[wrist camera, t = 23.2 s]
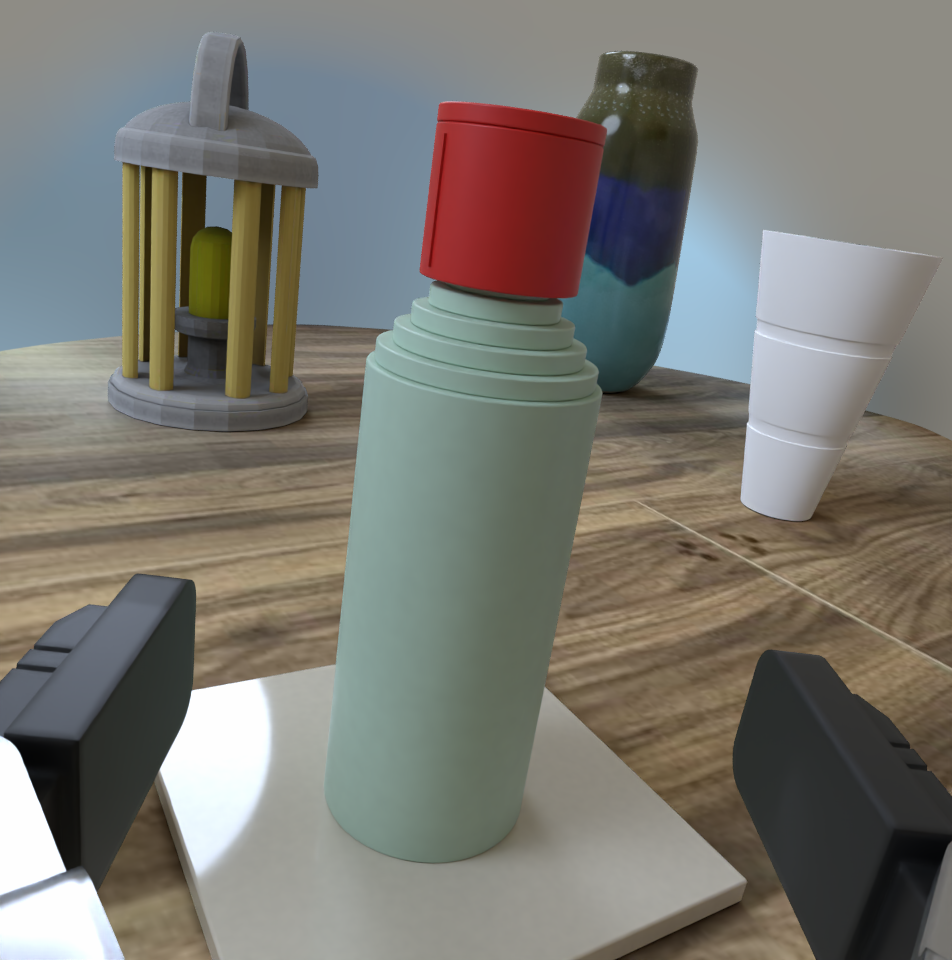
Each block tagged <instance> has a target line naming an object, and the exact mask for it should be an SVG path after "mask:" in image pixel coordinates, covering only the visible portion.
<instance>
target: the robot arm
mask: <svg viewBox="0 0 952 960" xmlns="http://www.w3.org/2000/svg"><path fill="white" fill-rule="evenodd" d="M195 613H196V589H195V584H194V582H193V581H192V580H188V579H180V578H171V577H163V576H154V575H146V574H135V575H134V576H133V577H132V578H131V579H130V580H129V582H128V583H127V584H126V585H125V586H124V588H123V589H122V590H121V591H120V592H119V594H118V595H117V596H116V597H115V598H114V600H113V601H112V602H111V603H110V605H109V606H108V607H107V606H99V605H90V604H89V605H87V606H85V607H83V608H81V609H79V610H77V611H75V612H73V613H71V614H69V615H68V616H66V617H64V618H62V619H60V620H58V621H56V622H55V623H54V624H53V625H52V626H51V627H50V628H49V629H48V630H47V631H46V632H45V634H44V635H43V636H42V637H41V638H40V639H39V640H38V641H37V642H36V643H35V644H34V649H30V650H29V651H28V652H27V653H26V654H25V655H24V656H23V658H22V659H21V660H20V661H19V662H18V663H17V667H16V669H13V668H12V670H11V671H10V672H9V673H8V674H7V675H6V676H5V677H4V678H3V679H2V680H1V682H0V960H125V959H124V957H123V954H122V952H121V950H120V947H119V945H118V942H117V940H116V938H115V935H114V933H113V931H112V928H111V926H110V923H109V921H108V919H107V916H106V914H105V912H104V909H103V907H102V904H101V902H100V900H99V897H98V895H97V892H98V890H99V888H100V886H101V884H102V882H103V880H104V878H105V876H106V874H107V872H108V870H109V868H110V866H111V864H112V862H113V860H114V858H115V856H116V854H117V852H118V850H119V848H120V846H121V845H122V843H123V841H124V839H125V837H126V835H127V833H128V831H129V829H130V827H131V825H132V823H133V821H134V819H135V817H136V815H137V813H138V811H139V809H140V807H141V805H142V803H143V801H144V799H145V797H146V795H147V794H148V792H149V790H150V788H151V786H152V784H153V782H154V780H155V778H156V776H157V774H158V772H159V770H160V768H161V766H162V764H163V762H164V760H165V758H166V756H167V754H168V752H169V750H170V748H171V746H172V744H173V743H174V741H175V739H176V737H177V735H178V733H179V731H180V729H181V727H182V725H183V722H184V720H185V717H186V714H187V710H188V707H189V703H190V698H191V692H192V685H193V670H194V642H195ZM733 773H734V778H735V782H736V785H737V788H738V790H739V792H740V794H741V797H742V799H743V801H744V803H745V805H746V808H747V810H748V812H749V814H750V816H751V818H752V821H753V823H754V825H755V827H756V829H757V832H758V834H759V836H760V838H761V840H762V842H763V845H764V847H765V849H766V851H767V853H768V856H769V858H770V860H771V862H772V864H773V866H774V869H775V871H776V873H777V875H778V877H779V880H780V882H781V884H782V886H783V888H784V890H785V893H786V895H787V897H788V899H789V901H790V904H791V906H792V908H793V910H794V912H795V914H796V917H797V919H798V921H799V923H800V925H801V928H802V930H803V932H804V934H805V936H806V938H807V941H808V943H809V945H810V947H811V949H812V952H813V954H814V956H815V958H816V960H952V796H951V795H950V794H949V793H948V791H947V790H946V789H945V788H944V786H943V785H942V784H941V783H940V781H939V780H938V779H937V778H936V776H935V775H934V774H933V773H932V771H927V765H926V764H925V763H924V761H923V760H922V759H921V758H920V756H919V755H918V754H917V753H916V751H915V750H914V749H910V744H909V743H908V741H907V740H906V739H905V738H904V736H903V735H902V734H901V733H900V731H899V730H898V729H897V728H896V726H895V725H894V724H893V723H892V721H891V720H890V719H889V718H888V717H887V716H885V715H884V714H883V713H881V712H880V711H879V710H877V709H876V708H875V707H873V706H872V705H871V704H869V703H868V702H867V701H865V700H864V699H863V698H861V697H860V696H859V695H857V694H852V693H851V692H850V690H849V689H848V688H847V687H846V685H845V684H844V683H843V681H842V680H841V679H840V677H839V676H838V675H837V673H836V672H835V671H834V670H833V668H832V667H831V666H830V664H829V663H828V662H827V661H826V659H825V658H823V657H822V656H819V655H812V654H803V653H795V652H786V651H778V650H767V651H765V652H764V653H763V654H762V655H761V657H760V658H759V660H758V663H757V666H756V669H755V672H754V676H753V679H752V683H751V686H750V689H749V693H748V696H747V700H746V703H745V706H744V710H743V713H742V717H741V720H740V724H739V727H738V730H737V734H736V737H735V741H734V747H733Z"/></svg>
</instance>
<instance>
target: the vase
mask: <svg viewBox="0 0 952 960" xmlns="http://www.w3.org/2000/svg"><path fill="white" fill-rule="evenodd" d="M697 72H698V69H697V67H696V66H695V65H694V64H692V63H690V62H687V61H685V60H681V59H678V58H674V57H669V56H664V55H658V54H652V53H644V52H632V51H614V52H607V53H604V54H602V55H601V56H600V57H599V63H598V68H597V73H596V78H595V83H594V88H593V91H592V93H591V95H590V96H589V98H588V100H587V101H586V103H585V104H584V106H583V108H582V109H581V111H580V112H579V114H578V116H577V117H576V118H577V119H581V120H585V121H589V122H593V123H596V124H599V125H602V126H604V127H605V128H607V134H606V140H605V145H604V147H603V149H604V151H603V157H602V162H601V168H600V173H599V179H598V184H597V190H596V196H595V201H594V207H593V212H592V218H591V223H590V229H589V234H588V240H587V245H586V251H585V257H584V262H583V268H582V273H581V279H580V284H579V290H578V294H577V296H576V297H572V298H557V299H559V300H561V301H562V302H563V309H562V314H561V317H563V318H565V319H567V320H569V321H571V322H572V323H573V324H574V325H575V331H574V337H573V338H574V339H576V340H578V341H580V342H581V343H583V344H584V345H585V346H586V348H587V353H586V358H585V359H586V360H588V361H590V362H591V363H593V364H594V365H595V366H596V367H597V368H598V371H599V374H598V379H597V384H598V385H599V387H600V388H601V390H602V392H605V393H615V392H623V391H626V390H628V389H631V388H632V387H634V386H635V385H636V384H638V383H639V382H640V381H641V380H642V379H643V378H644V377H645V375H646V374H647V373H648V372H649V371H650V369H651V368H652V367H653V365H654V364H655V362H656V360H657V358H658V356H659V353H660V351H661V348H662V345H663V341H664V338H665V334H666V330H667V325H668V321H669V316H670V310H671V305H672V299H673V294H674V288H675V282H676V276H677V270H678V264H679V258H680V251H681V246H682V240H683V233H684V228H685V221H686V215H687V210H688V203H689V198H690V192H691V185H692V179H693V173H694V167H695V161H696V154H697V146H698V135H697V130H696V125H695V120H694V114H693V109H692V99H693V94H694V88H695V83H696V78H697Z"/></svg>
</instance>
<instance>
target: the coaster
mask: <svg viewBox="0 0 952 960" xmlns="http://www.w3.org/2000/svg"><path fill="white" fill-rule="evenodd" d="M335 668H336V664H334V665H328V666H323V667H318V668H312V669H307V670H301V671H296V672H290V673H285V674H279V675H274V676H268V677H263V678H258V679H252V680H247V681H241V682H236V683H230V684H225V685H219V686H214V687H208V688H203V689H198V690H192V692H191V698H190V703H189V707H188V710H187V714H186V717H185V720H184V722H183V725H182V727H181V729H180V731H179V733H178V735H177V737H176V739H175V741H174V743H173V744H172V746H171V748H170V750H169V752H168V754H167V756H166V758H165V760H164V762H163V764H162V766H161V768H160V770H159V772H158V774H157V776H156V778H155V780H154V783H155V786H156V789H157V792H158V795H159V798H160V801H161V804H162V807H163V810H164V813H165V816H166V820H167V823H168V826H169V829H170V832H171V835H172V838H173V841H174V844H175V847H176V850H177V853H178V856H179V860H180V863H181V866H182V869H183V872H184V875H185V878H186V881H187V884H188V887H189V890H190V893H191V896H192V900H193V903H194V906H195V909H196V912H197V915H198V918H199V921H200V924H201V927H202V930H203V933H204V937H205V940H206V943H207V946H208V949H209V952H210V955H211V958H212V960H615V959H617V958H620V957H622V956H624V955H626V954H628V953H630V952H632V951H635V950H637V949H639V948H641V947H643V946H645V945H647V944H650V943H652V942H654V941H656V940H658V939H660V938H662V937H664V936H667V935H669V934H671V933H673V932H675V931H677V930H679V929H682V928H684V927H686V926H688V925H690V924H692V923H694V922H697V921H699V920H701V919H703V918H705V917H707V916H709V915H712V914H714V913H716V912H718V911H720V910H722V909H724V908H727V907H729V906H731V905H733V904H735V903H737V902H739V901H741V899H742V897H743V894H744V891H745V887H746V884H747V880H746V878H744V877H743V876H742V875H741V874H740V873H739V872H738V871H737V870H736V869H735V868H734V867H733V866H732V865H731V864H730V863H729V862H728V861H727V860H726V859H725V858H724V857H723V856H722V855H720V854H719V853H718V852H717V851H716V850H715V849H714V848H713V847H712V846H711V845H710V844H709V843H708V842H707V841H706V840H705V839H704V838H703V837H702V836H701V835H700V834H699V833H697V832H696V831H695V830H694V829H693V828H692V827H691V826H690V825H689V824H688V823H687V822H686V821H685V820H684V819H683V818H682V817H681V816H680V815H679V814H678V813H677V812H676V811H674V810H673V809H672V808H671V807H670V806H669V805H668V804H667V803H666V802H665V801H664V800H663V799H662V798H661V797H660V796H659V795H658V794H657V793H656V792H655V791H654V790H653V789H651V788H650V787H649V786H648V785H647V784H646V783H645V782H644V781H643V780H642V779H641V778H640V777H639V776H638V775H637V774H636V773H635V772H634V771H633V770H632V769H631V768H630V767H629V766H627V765H626V764H625V763H624V762H623V761H622V760H621V759H620V758H619V757H618V756H617V755H616V754H615V753H614V752H613V751H612V750H611V749H610V748H609V747H608V746H607V745H606V744H604V743H603V742H602V741H601V740H600V739H599V738H598V737H597V736H596V735H595V734H594V733H593V732H592V731H591V730H590V729H589V728H588V727H587V726H586V725H585V724H584V723H583V722H581V721H580V720H579V719H578V718H577V717H576V716H575V715H574V714H573V713H572V712H571V711H570V710H569V709H568V708H567V707H566V706H565V705H564V704H563V703H562V702H561V701H560V700H558V699H557V698H556V697H555V696H554V695H553V694H552V693H551V692H550V691H549V690H548V689H547V688H546V687H544V692H543V697H542V702H541V707H540V712H539V717H538V723H537V728H536V733H535V738H534V743H533V748H532V753H531V758H530V763H529V768H528V773H527V778H526V783H525V788H524V793H523V798H522V803H521V808H520V813H519V816H518V819H517V821H516V823H515V825H514V827H513V828H512V830H511V831H510V832H509V833H508V834H507V836H506V837H505V838H504V839H503V840H502V841H500V842H499V843H498V844H496V845H495V846H494V847H492V848H490V849H489V850H487V851H485V852H483V853H481V854H478V855H476V856H473V857H470V858H466V859H463V860H458V861H452V862H443V863H423V862H413V861H407V860H402V859H398V858H394V857H390V856H388V855H385V854H382V853H380V852H377V851H375V850H373V849H371V848H369V847H367V846H365V845H364V844H362V843H360V842H359V841H357V840H356V839H354V838H353V837H352V836H351V835H350V834H348V833H347V832H346V831H345V830H344V829H343V828H342V827H341V826H340V824H339V823H338V822H337V821H336V819H335V818H334V816H333V815H332V813H331V811H330V809H329V807H328V804H327V802H326V798H325V794H324V778H325V768H326V758H327V748H328V738H329V728H330V718H331V708H332V698H333V688H334V678H335Z"/></svg>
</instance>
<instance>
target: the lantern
mask: <svg viewBox="0 0 952 960" xmlns="http://www.w3.org/2000/svg"><path fill="white" fill-rule="evenodd" d="M114 149H115V150H114V151H115V153H114V154H115V155H114V156H115V158H114V159H115V160H117V161H121V162H123V298H122V299H123V300H122V302H123V303H122V305H123V306H122V309H123V310H122V311H123V314H122V315H123V316H122V318H123V319H122V320H123V321H122V324H123V325H122V326H123V328H122V330H123V331H122V332H123V333H122V334H123V335H122V366H119V367H118V368H117V369H116V370H115V372H114V374H112V375H111V377H110V379H109V381H108V401H109V402H110V403H111V405H112V406H113V407H114V408H115V409H116V410H118V411H120V412H122V413H124V414H126V415H128V416H131V417H133V418H136V419H140V420H143V421H147V422H151V423H155V424H159V425H164V426H171V427H178V428H185V429H192V430H210V431H247V430H262V429H268V428H273V427H279V426H285V425H287V424H290V423H292V422H295V421H297V420H300V419H301V418H302V417H303V416H304V414H305V413H306V412H307V402H308V394H307V391H306V388H305V387H303V384H302V382H301V381H300V380H299V379H298V378H297V377H295V376H293V363H294V349H295V334H296V319H297V305H298V290H299V277H300V262H301V247H302V233H303V220H304V205H305V191H306V188H317V186H318V165H317V162H316V159H315V158H314V157H313V156H311V154H310V152H309V151H308V149H307V148H306V147H305V145H304V144H303V143H302V142H301V141H300V140H299V139H298V138H297V137H296V136H295V135H294V134H292V133H291V132H290V131H288V130H287V129H286V128H284V127H283V126H281V125H280V124H278V123H276V122H274V121H272V120H270V119H269V118H266V117H264V116H262V115H259V114H257V113H254V112H252V111H249V110H248V70H247V60H246V51H245V48H244V45H243V42H242V40H241V38H239V37H237V36H235V35H229V34H223V33H218V32H209V33H206V34H204V36H203V37H202V39H201V42H200V45H199V48H198V51H197V56H196V62H195V68H194V74H193V83H192V92H191V102H180V103H179V102H178V103H171V104H166V105H161V106H158V107H155V108H152V109H149V110H146V111H145V112H143V113H141V114H139V115H137V116H136V117H134V118H133V119H132V120H131V121H129V122H128V123H127V124H126V126H125V127H123V128H120V129H119V130H118V133H117V135H116V138H115V146H114ZM140 165H141V196H140V197H141V198H140V319H139V320H140V322H139V360H138V297H139V293H138V292H139V289H138V288H139V166H140ZM178 171H180V172H183V174H182V215H181V258H180V299H179V301H180V302H179V307H178V308H175V288H176V287H175V286H176V285H175V284H176V241H177V240H176V239H177V238H176V237H177V196H178V193H177V192H178ZM206 176H214V177H221V178H228V179H234V202H233V225H232V232H230V231H229V230H228V229H224V228H221V227H206V228H205V209H206V178H207V177H206ZM275 185H282V191H281V207H280V224H279V240H278V257H277V274H276V289H275V307H274V323H273V338H272V355H271V366H269V365H265V354H266V337H267V320H268V303H269V302H268V301H269V285H270V268H271V251H272V234H273V217H274V199H275ZM175 330H177V331H178V332H179V342H178V355H174V334H175Z"/></svg>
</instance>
